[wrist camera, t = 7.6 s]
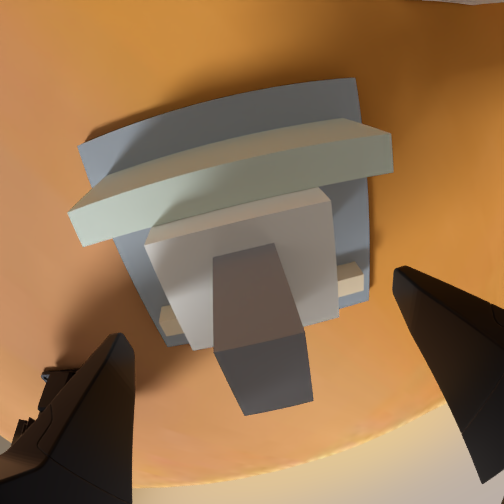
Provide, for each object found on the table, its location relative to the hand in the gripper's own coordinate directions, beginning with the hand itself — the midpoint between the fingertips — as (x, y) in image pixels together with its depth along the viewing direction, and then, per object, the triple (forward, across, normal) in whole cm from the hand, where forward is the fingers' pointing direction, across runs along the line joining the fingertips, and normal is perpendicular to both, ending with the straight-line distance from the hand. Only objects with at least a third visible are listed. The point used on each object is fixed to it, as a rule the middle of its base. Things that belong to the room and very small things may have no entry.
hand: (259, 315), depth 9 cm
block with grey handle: (+8, 0, 0) cm, 8 cm away
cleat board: (+8, 0, +1) cm, 8 cm away
